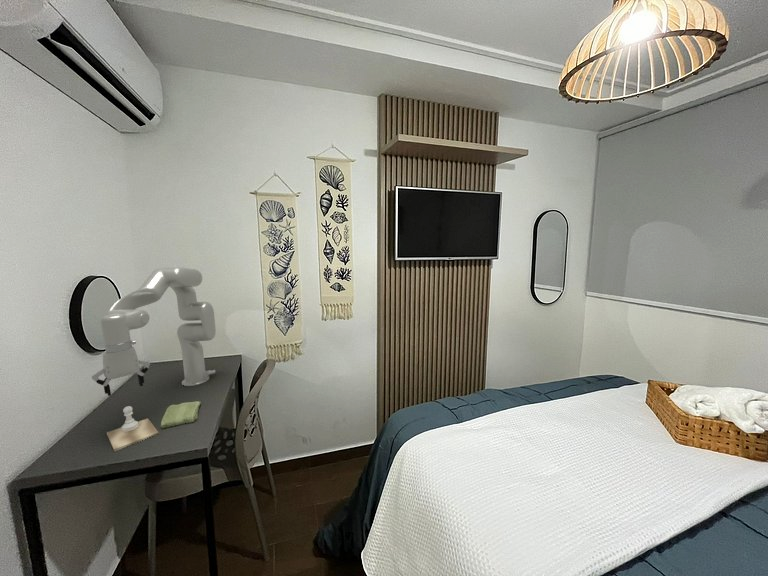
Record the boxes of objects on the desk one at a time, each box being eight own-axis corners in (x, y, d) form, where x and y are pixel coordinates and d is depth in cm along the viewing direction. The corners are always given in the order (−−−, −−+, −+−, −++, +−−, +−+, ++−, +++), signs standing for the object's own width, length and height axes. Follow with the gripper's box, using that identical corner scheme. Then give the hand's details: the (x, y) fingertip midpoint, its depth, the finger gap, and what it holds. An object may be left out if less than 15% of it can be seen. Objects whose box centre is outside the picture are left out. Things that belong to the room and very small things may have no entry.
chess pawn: (128, 432, 120) (125, 410, 119) (118, 431, 121) (115, 409, 120) (141, 425, 125) (138, 404, 124) (132, 424, 126) (129, 402, 125)
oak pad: (148, 420, 130) (147, 418, 130) (158, 434, 120) (158, 432, 120) (106, 434, 121) (106, 432, 121) (114, 451, 110) (114, 449, 110)
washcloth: (201, 404, 144) (201, 397, 143) (196, 423, 128) (195, 415, 127) (167, 410, 139) (166, 403, 138) (157, 431, 122) (156, 423, 122)
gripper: (144, 339, 127) (150, 379, 130) (86, 351, 115) (93, 395, 117) (149, 342, 123) (155, 384, 125) (88, 355, 110) (96, 401, 112)
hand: (125, 389), depth 121 cm, fingers open, 9 cm apart
